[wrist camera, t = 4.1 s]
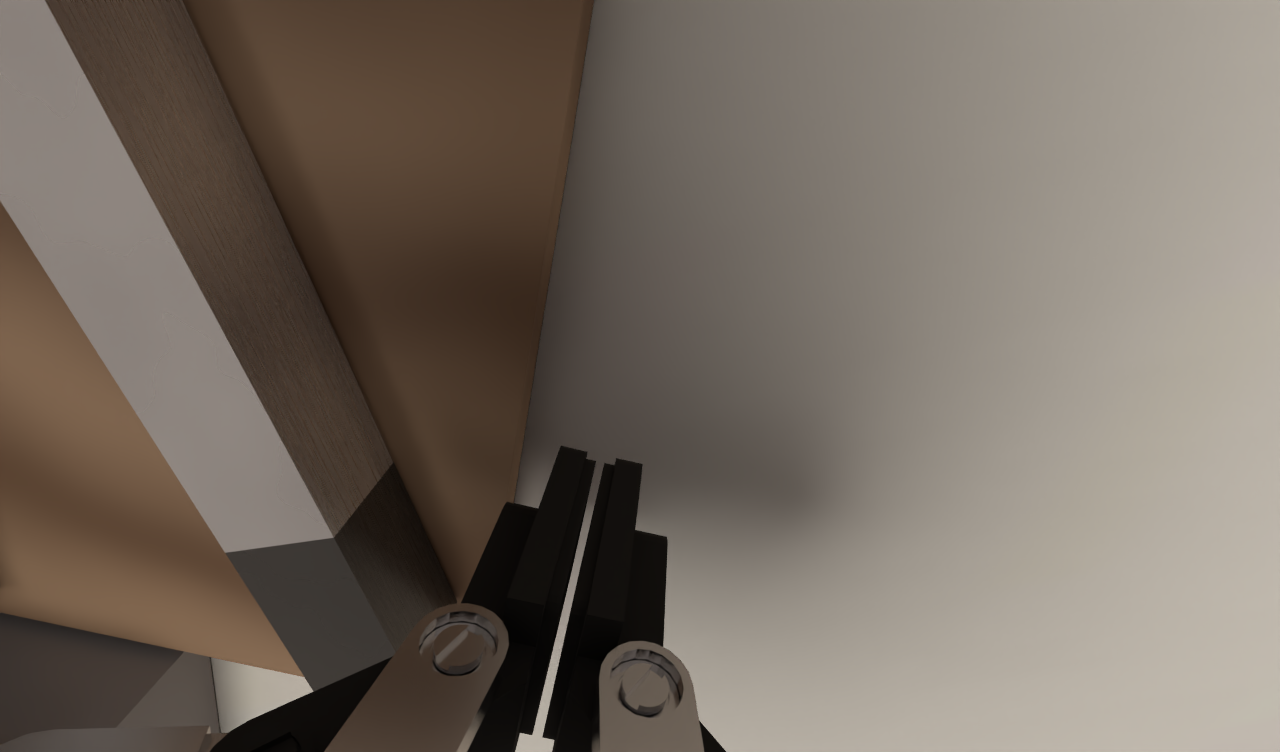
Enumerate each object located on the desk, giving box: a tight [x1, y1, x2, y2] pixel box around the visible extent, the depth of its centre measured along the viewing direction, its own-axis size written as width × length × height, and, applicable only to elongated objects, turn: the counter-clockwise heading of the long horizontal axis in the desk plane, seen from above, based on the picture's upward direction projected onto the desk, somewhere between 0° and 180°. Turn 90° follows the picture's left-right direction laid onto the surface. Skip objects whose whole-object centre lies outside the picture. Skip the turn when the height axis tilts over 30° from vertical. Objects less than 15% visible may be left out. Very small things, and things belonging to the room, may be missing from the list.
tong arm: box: [0, 0, 457, 691], centre depth 9 cm, size 23×4×3 cm, turn 12°
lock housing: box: [0, 613, 220, 744], centre depth 17 cm, size 6×8×4 cm
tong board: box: [0, 0, 594, 677], centre depth 11 cm, size 24×18×1 cm
